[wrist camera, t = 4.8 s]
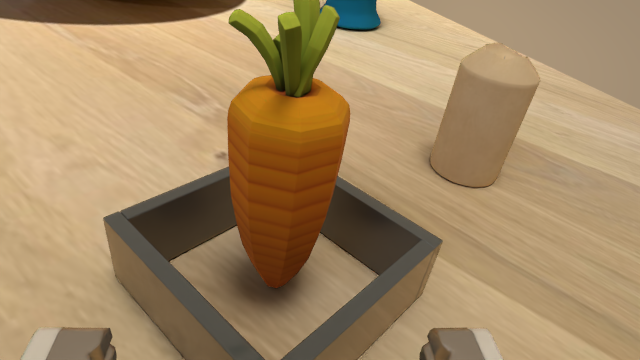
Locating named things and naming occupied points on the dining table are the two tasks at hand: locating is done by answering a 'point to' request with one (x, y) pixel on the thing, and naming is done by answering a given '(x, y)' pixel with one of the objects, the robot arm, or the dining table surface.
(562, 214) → the dining table surface
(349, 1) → the vase
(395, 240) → the open rectangular frame
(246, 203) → the carrot
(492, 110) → the candle
